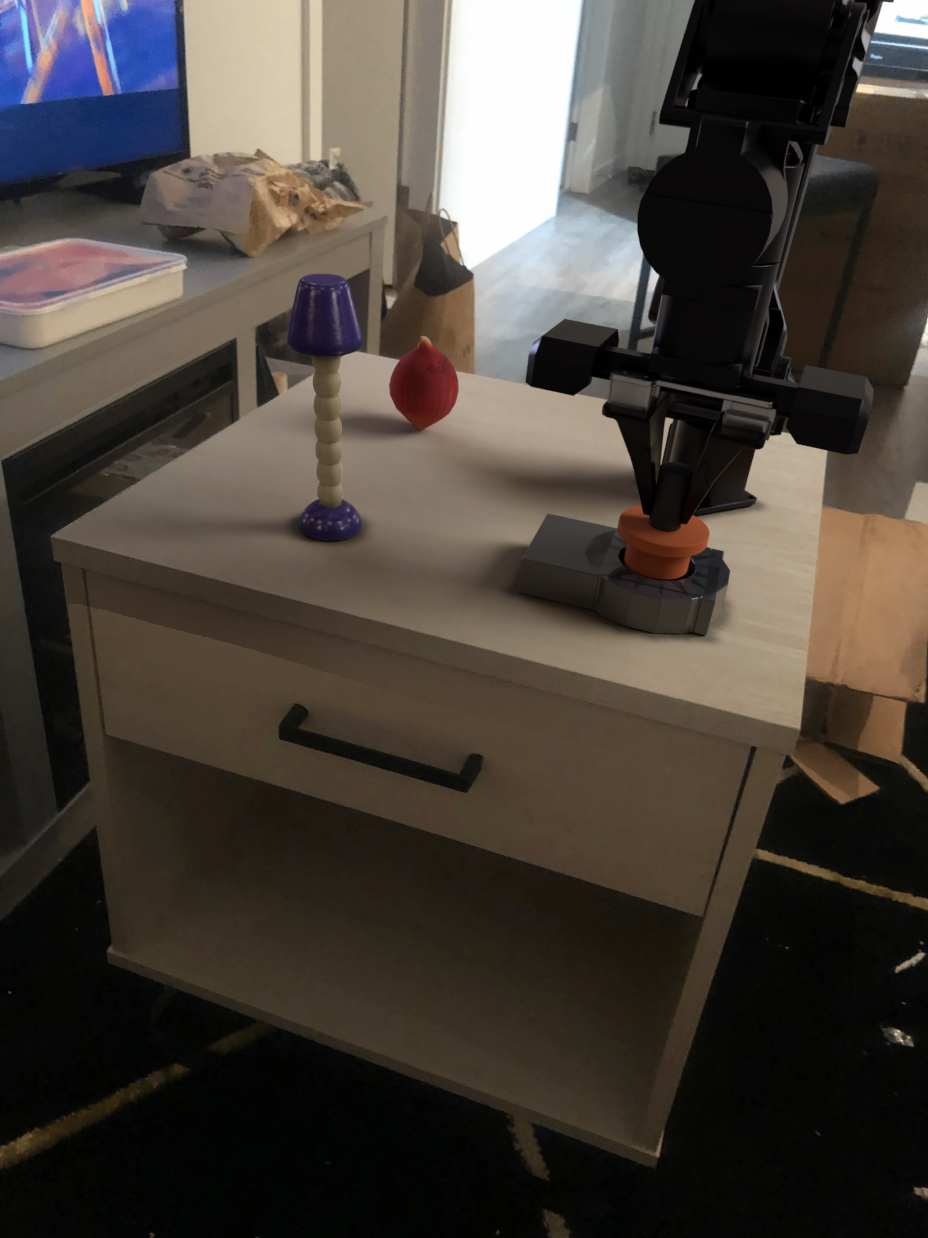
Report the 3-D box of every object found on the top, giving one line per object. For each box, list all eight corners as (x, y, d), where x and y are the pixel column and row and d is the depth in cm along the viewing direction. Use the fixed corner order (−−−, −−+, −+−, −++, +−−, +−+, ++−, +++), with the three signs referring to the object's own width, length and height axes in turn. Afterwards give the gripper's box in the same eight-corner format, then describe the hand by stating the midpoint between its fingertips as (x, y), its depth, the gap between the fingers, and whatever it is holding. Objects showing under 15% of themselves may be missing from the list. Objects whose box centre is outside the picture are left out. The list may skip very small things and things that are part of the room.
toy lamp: (313, 549, 63) (313, 291, 54) (277, 521, 66) (271, 271, 57) (373, 532, 66) (382, 283, 57) (336, 506, 68) (339, 265, 59)
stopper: (707, 556, 62) (731, 462, 58) (690, 595, 57) (715, 496, 54) (623, 535, 63) (642, 442, 60) (601, 571, 59) (620, 473, 55)
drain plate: (725, 577, 64) (734, 545, 63) (714, 647, 57) (724, 612, 55) (545, 538, 67) (550, 506, 66) (512, 600, 59) (517, 565, 58)
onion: (458, 421, 85) (465, 331, 80) (450, 445, 80) (458, 350, 76) (393, 413, 85) (397, 323, 81) (382, 437, 80) (386, 342, 76)
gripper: (911, 256, 54) (831, 504, 62) (596, 206, 59) (561, 441, 68) (910, 295, 45) (817, 578, 54) (540, 233, 50) (508, 500, 59)
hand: (666, 517), depth 59 cm, fingers closed on stopper
